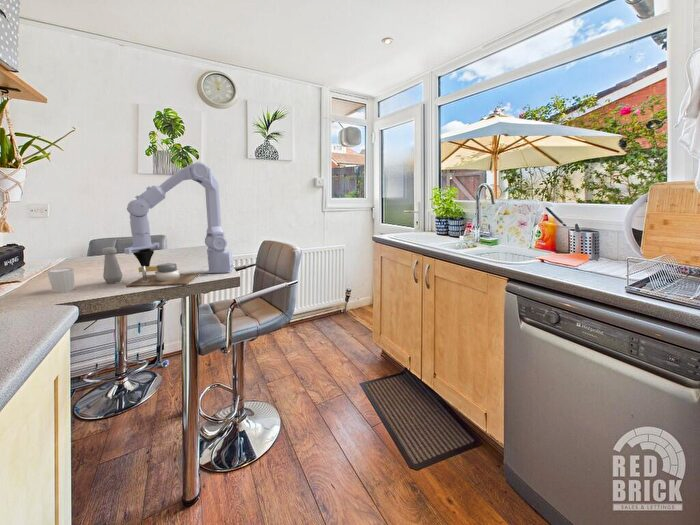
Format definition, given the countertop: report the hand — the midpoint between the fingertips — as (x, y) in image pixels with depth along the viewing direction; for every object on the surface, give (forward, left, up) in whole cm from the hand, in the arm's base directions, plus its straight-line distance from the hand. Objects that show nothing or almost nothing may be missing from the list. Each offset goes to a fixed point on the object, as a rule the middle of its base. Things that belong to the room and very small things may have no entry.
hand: (145, 269), depth 124 cm
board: (-6, 0, -4) cm, 8 cm away
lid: (-5, +1, 0) cm, 5 cm away
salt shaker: (+12, 0, -5) cm, 12 cm away
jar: (-7, 0, -4) cm, 9 cm away
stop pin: (-1, +4, -4) cm, 6 cm away
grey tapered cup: (+23, +9, -5) cm, 25 cm away
